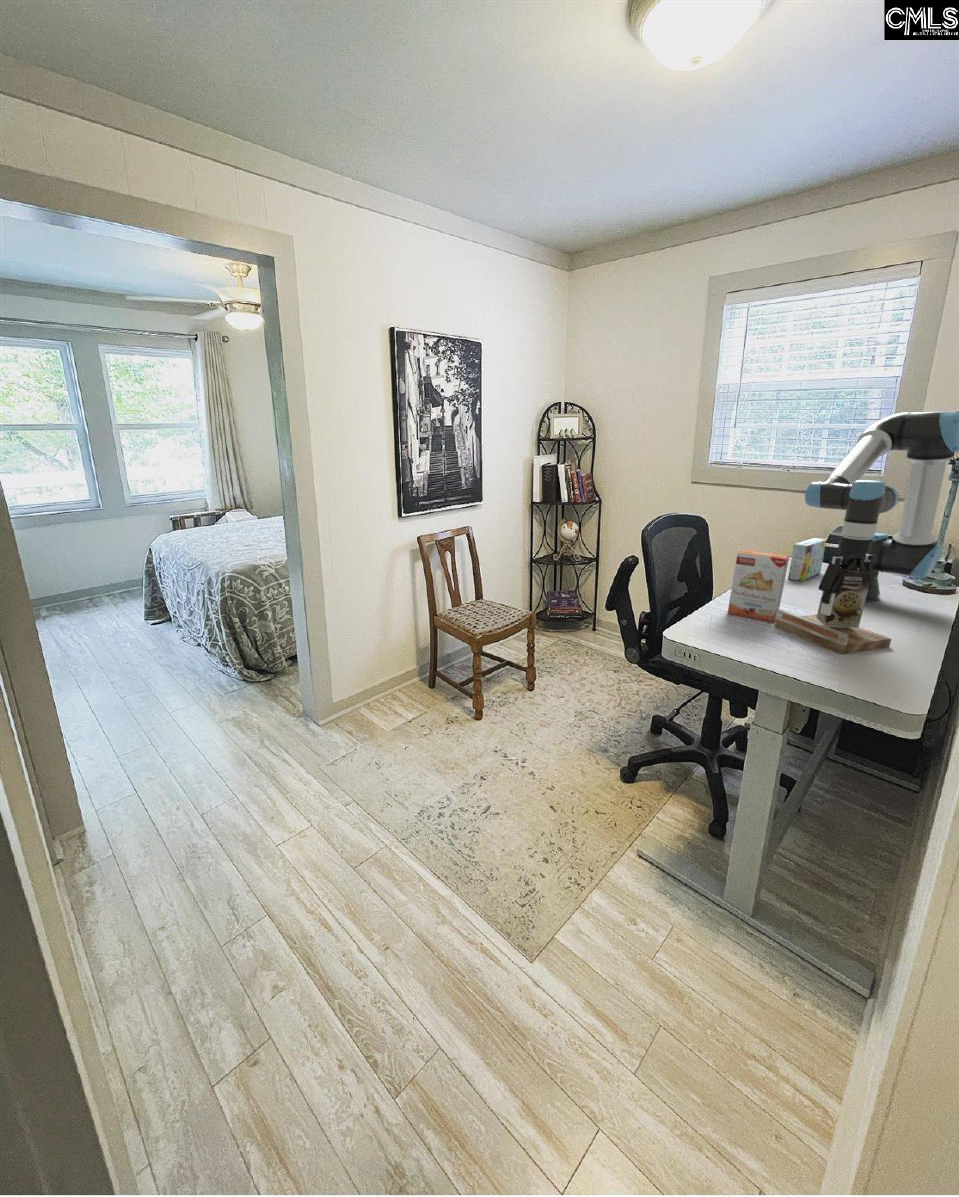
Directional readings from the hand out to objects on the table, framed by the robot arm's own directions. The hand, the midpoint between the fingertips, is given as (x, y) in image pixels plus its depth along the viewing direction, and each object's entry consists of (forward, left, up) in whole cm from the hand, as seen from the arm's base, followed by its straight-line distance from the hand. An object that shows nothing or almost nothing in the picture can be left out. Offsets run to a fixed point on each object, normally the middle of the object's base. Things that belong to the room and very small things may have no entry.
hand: (839, 612), depth 153 cm
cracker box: (+10, -21, -8) cm, 24 cm away
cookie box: (0, 0, -4) cm, 4 cm away
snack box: (-52, -56, -8) cm, 77 cm away
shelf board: (+2, 0, -7) cm, 8 cm away
